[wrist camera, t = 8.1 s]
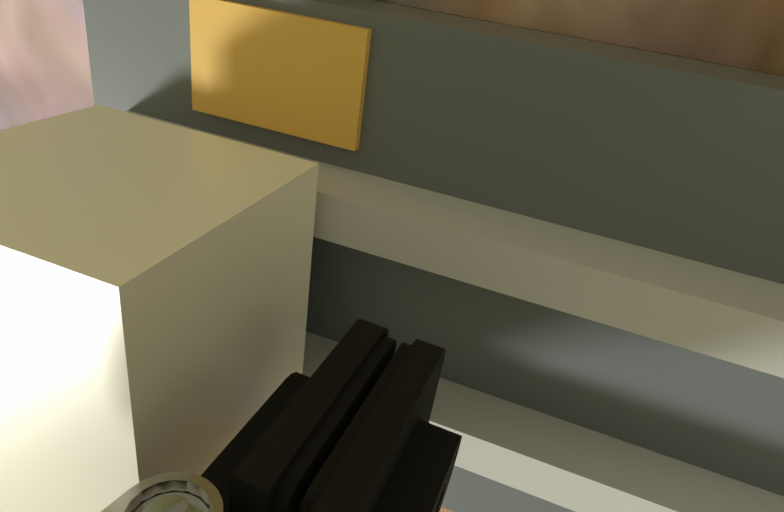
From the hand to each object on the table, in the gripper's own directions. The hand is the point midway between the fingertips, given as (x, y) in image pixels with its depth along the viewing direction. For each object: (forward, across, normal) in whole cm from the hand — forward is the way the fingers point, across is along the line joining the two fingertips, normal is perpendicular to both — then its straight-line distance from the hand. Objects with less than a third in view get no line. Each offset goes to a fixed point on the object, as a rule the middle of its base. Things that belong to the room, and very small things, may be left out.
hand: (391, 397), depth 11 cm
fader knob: (+3, +5, 0) cm, 6 cm away
